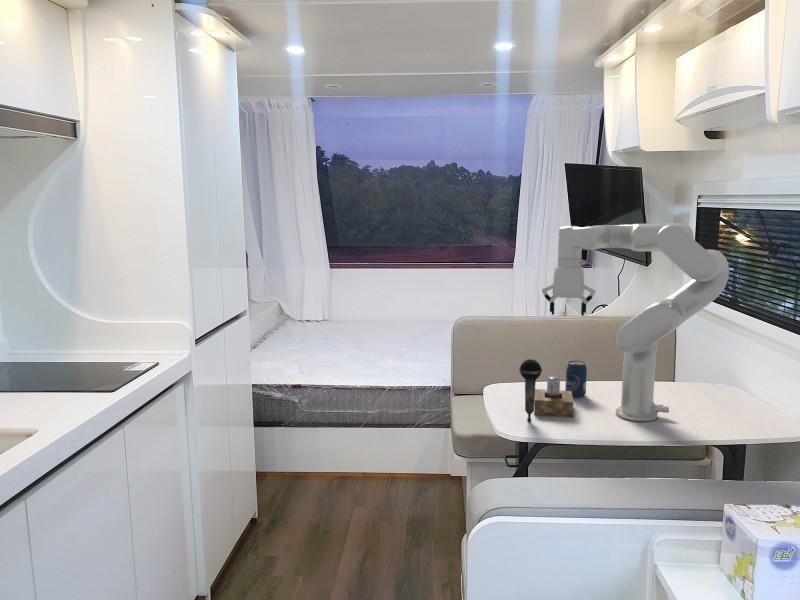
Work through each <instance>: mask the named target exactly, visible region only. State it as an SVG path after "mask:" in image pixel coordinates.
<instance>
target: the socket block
mask: <svg viewBox="0 0 800 600" xmlns="http://www.w3.org/2000/svg"><path fill="white" fill-rule="evenodd" d="M533 415H534V416H544V417H546V416H547V417H558V418H559V417H561V418H562V417H563V418H573V417H574V398H573V397H572V391H565V390H561V389H560V395H559V398H547V389H541V388H535V399H534V412H533Z"/></svg>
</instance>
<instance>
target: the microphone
mask: <svg viewBox="0 0 800 600" xmlns="http://www.w3.org/2000/svg"><path fill="white" fill-rule="evenodd" d="M518 370H519V373H520V375H521V377H522V378H523V379H524V402H525V403H524V404H525V405H524V406H525V408H524V410H525V412H526V414H527V419H526V421H527V422H528V423H531V422H532V418H531V415H532V414H533V413H534V403H535V389H536V380H537V379H539V377H540V376H541V374H542V372H543V369H542V366H541V364H540V363H539V362H538V361H537V360H535V359H532V358H529V359H526V360H524V361H523V362H521V364H520V366H519V369H518Z"/></svg>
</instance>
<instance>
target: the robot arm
mask: <svg viewBox="0 0 800 600" xmlns="http://www.w3.org/2000/svg"><path fill="white" fill-rule="evenodd" d="M694 238H695V235H694V231H693V229H692V228H691V227H690V226H689V225H687V224H685V223H680V222H679V223H678V222H677V223H674V222H673V223H671V222H670V223H664V222H663V223H633V224H610V225H609V224H603V225H602V224H601V225H600V224H598V225H592V226H591V225H590V226H589V225H588V226H584V227H580V226H577V225H564V226H561V227H560V228H559V230H558V243H557V245H558V246H557V247H558V248H557V266H555V267H554V272H553V277H552V279H553V280H552V284H550V285H548V286H546V287H543V288H541V292H542V294H543V296H544V298H545V299H546V300H547V301H548V302H549V312H550V313H551V315H555V300H556V299H557V298H559V299H560V298H561V299H564V298H566V299H567V298H568V299H580V300H581V304H580V305H581V306H580V308H581V309H580V315H581V316H585V314H586V313H587V304H588V303H589V302H590V301H591V300H592V299H593V297H594V295H595V294H596V290H595V289H594V288H592V287H589V286H588V285H586V284H585V271H584V267H582V266H583V265H586V263H587V261H586V260H584V259H582V251H583V250H586V251H593V250H597V249H628V250H631V251H633V252H651V253H652V252H656V253H657V252H660V253H661V252H662V253H663V254H664V255H665V256H666V257H667V258H668V259H669V260H670V261H671V262H672V263H674V264H675V265H676V266H677V267H678V268H679V269H680V270H681V271H682V272H683V273H685V275H687V276H688V277H689V278H691V280H690V281H689V282H687V283H686V284H684V285H683V286H681V287H680V288H679V289H678V290H676V291H675V292H673V293H672V294H670V295H668V296H667V297H666V298H664V299H661V300H658V301H656V302H653V304H651V305H649V306H648V307H646V308H645V309H644V310H642V311H641V312H639V313H638V314H637V315H635V316H633V317H632V318H630V319H629V320H628V321H626V323H624V324H622V325H621V326H620V327H619V328H618V329H617V332H616V335H615V341H616V344H617V346H618V348H619V349H620V350H621V351H623V352H624V353H623V363H622V364H623V365H622V367H623V368H622V382H621V383H622V384H621V401H620V406H618V407H616V408H615V414H616V415H617V416H618V417H620V418H621V419H625V420H628V421H633V422H652V421H655V420H657V419H658V415H659V414H658V413H666V414H668V413H670V407H669V406H664V405H663V404H656V403H655V402H654V396H655V395H654V393H655V379H656V378H655V376H656V363H657V361H656V360H657V353H658V351H657V350H658V346H659V341H660V340H662V339H663V338H664V337H666V336H668V335H669V334H670V333H672V332H673V331H675V330H676V329H678V328H679V327H681V326H682V324H683V323H685V322H686V321H687V320H689V319H690V318H691V317H693V316H694V315H696V314H698V313H699V312H701V310H703V309H704V308H706V307H707V306H708V305H710V304H711V303H712V302H714V301H715V300H717V298H718V297H719V296H720V295H721V293H723V291H724V290H725V287H726V286H727V284H728V281H729V275H730V268H729V267H730V266H729V263H728V260H727V257H726V256H725V255H724V253H722V252H721V251H719V250H716V249H705V248H704V247H703V246H702V245H701V244H699V243H698V242H697V241H696V240H695V239H694ZM550 290H552V296H550V295H549V294H548V291H550ZM585 291H587V292H589V294H588V295H587V296H586V297H585ZM656 418H657V419H656Z"/></svg>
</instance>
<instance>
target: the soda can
mask: <svg viewBox="0 0 800 600" xmlns="http://www.w3.org/2000/svg"><path fill="white" fill-rule="evenodd" d="M567 363H568V364H567V365H566V368H565V369H566V371H565V390H564V391H572V397H573V399H582V398H584V397H585V395H586V394H587V373H588V372H587V370H588V369H587V366H586V363H585V362H584V361H581V360H570V361H568V362H567Z"/></svg>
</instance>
